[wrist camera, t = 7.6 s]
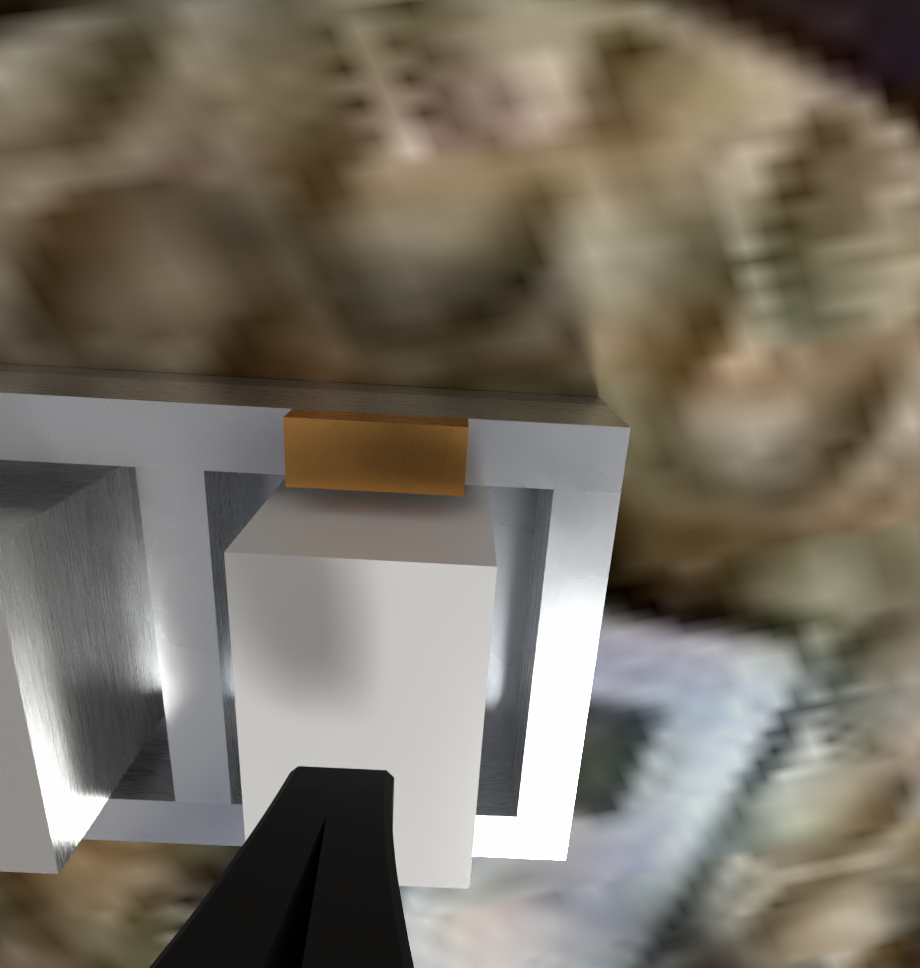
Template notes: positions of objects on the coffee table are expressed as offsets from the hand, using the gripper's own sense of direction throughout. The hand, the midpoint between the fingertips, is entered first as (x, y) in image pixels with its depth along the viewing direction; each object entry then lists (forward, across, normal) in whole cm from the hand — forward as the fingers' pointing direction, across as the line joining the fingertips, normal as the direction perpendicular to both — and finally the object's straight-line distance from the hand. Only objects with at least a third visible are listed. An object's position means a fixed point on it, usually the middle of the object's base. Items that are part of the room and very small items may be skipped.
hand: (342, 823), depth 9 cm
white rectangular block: (+6, 0, 0) cm, 6 cm away
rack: (+6, +4, 0) cm, 7 cm away
